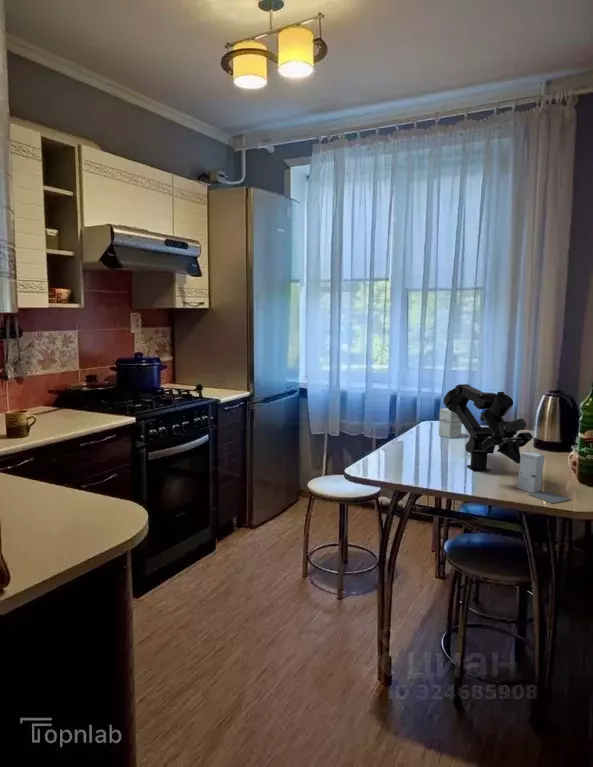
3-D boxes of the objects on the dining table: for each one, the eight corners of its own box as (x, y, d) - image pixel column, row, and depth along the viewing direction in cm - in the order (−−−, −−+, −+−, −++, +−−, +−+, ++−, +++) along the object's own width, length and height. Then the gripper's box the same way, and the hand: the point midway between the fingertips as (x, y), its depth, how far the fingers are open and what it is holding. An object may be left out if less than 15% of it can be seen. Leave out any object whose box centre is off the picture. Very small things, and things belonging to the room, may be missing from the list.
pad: (528, 494, 176) (528, 493, 176) (546, 491, 180) (547, 490, 180) (552, 503, 168) (552, 502, 168) (571, 500, 172) (571, 499, 172)
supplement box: (438, 435, 259) (439, 408, 257) (450, 434, 262) (451, 407, 261) (449, 438, 253) (450, 411, 251) (461, 437, 256) (463, 410, 254)
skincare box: (516, 488, 182) (519, 452, 181) (524, 486, 185) (527, 450, 183) (534, 493, 177) (537, 456, 176) (542, 491, 180) (545, 454, 178)
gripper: (489, 412, 183) (514, 452, 174) (530, 408, 191) (555, 447, 182) (471, 431, 191) (493, 470, 182) (511, 427, 199) (534, 465, 190)
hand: (519, 463), depth 184 cm, fingers closed
